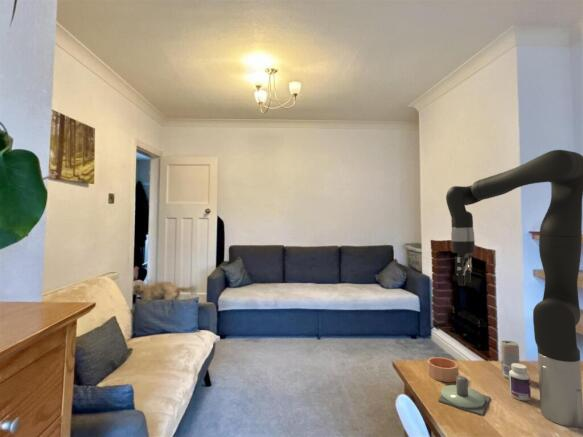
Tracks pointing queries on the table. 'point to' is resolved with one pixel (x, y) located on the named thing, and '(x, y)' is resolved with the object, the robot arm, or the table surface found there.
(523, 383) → the pill bottle
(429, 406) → the table surface
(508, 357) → the energy drink
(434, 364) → the bowl
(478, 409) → the mat
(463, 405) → the lid
